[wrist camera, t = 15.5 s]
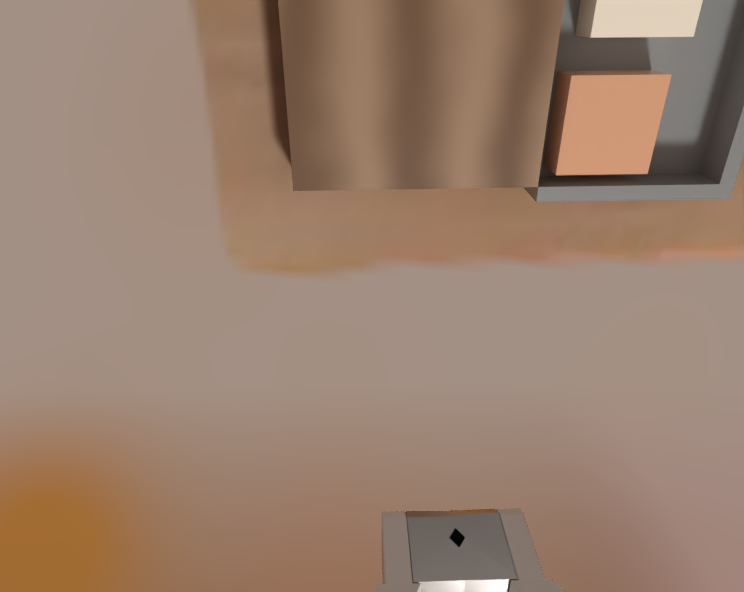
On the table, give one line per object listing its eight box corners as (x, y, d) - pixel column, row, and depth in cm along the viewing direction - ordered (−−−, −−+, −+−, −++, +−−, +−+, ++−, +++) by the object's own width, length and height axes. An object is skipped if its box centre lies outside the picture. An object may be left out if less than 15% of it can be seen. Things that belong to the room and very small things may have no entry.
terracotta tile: (651, 70, 34) (671, 74, 32) (630, 163, 37) (647, 174, 35) (557, 71, 34) (571, 75, 32) (544, 165, 37) (555, 175, 35)
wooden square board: (561, -107, 30) (581, -118, 27) (525, 174, 38) (537, 187, 35) (276, -105, 30) (268, -116, 27) (297, 177, 37) (293, 190, 35)
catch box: (797, -131, 30) (840, -144, 27) (704, 185, 38) (729, 198, 36) (565, -130, 29) (585, -143, 27) (524, 188, 38) (536, 201, 35)
